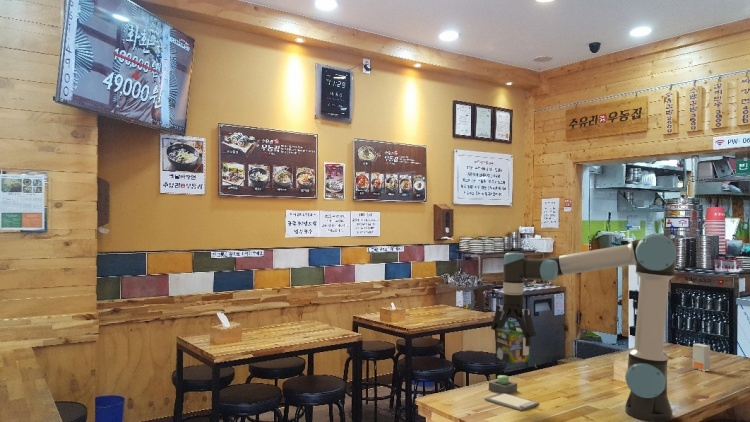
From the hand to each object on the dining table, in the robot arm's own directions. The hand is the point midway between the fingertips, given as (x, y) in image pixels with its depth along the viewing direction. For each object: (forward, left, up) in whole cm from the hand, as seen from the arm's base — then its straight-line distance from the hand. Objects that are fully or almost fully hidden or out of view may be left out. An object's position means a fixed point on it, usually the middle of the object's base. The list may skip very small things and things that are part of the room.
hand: (512, 351), depth 209 cm
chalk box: (0, 0, -3) cm, 3 cm away
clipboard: (0, 0, -19) cm, 19 cm away
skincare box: (-29, -112, -19) cm, 117 cm away
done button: (+11, -10, -16) cm, 22 cm away
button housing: (+11, -10, -19) cm, 24 cm away
